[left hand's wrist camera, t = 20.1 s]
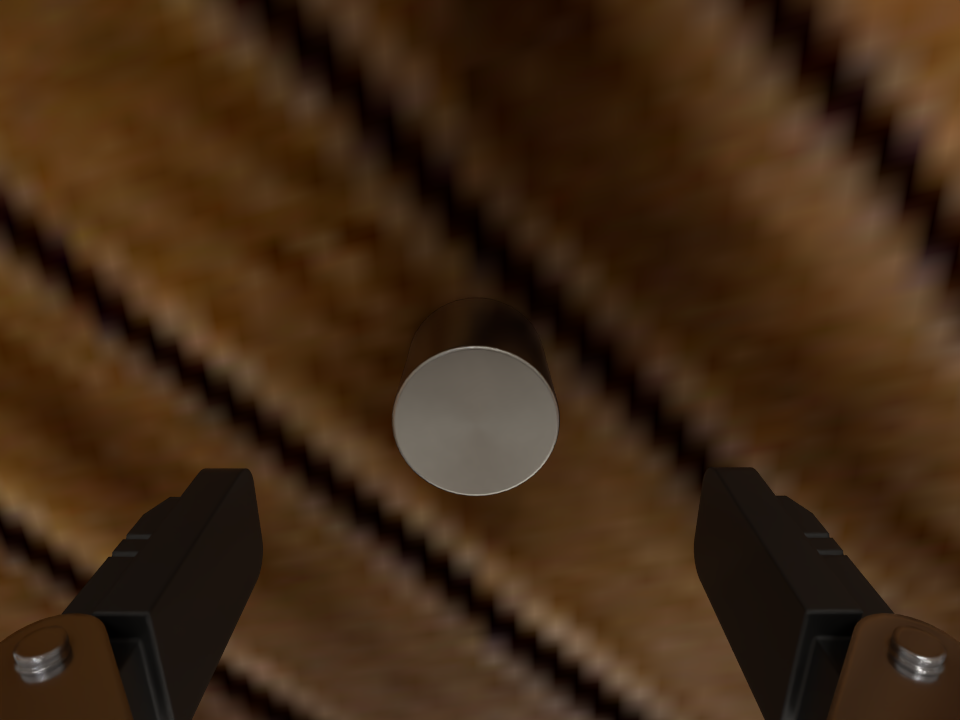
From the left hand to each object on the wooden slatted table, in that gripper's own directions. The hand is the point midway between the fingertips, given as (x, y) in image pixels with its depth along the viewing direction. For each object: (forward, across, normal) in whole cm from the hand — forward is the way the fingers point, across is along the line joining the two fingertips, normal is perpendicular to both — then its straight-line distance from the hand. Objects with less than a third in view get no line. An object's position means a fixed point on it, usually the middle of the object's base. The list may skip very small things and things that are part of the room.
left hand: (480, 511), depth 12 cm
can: (+8, 0, 0) cm, 8 cm away
